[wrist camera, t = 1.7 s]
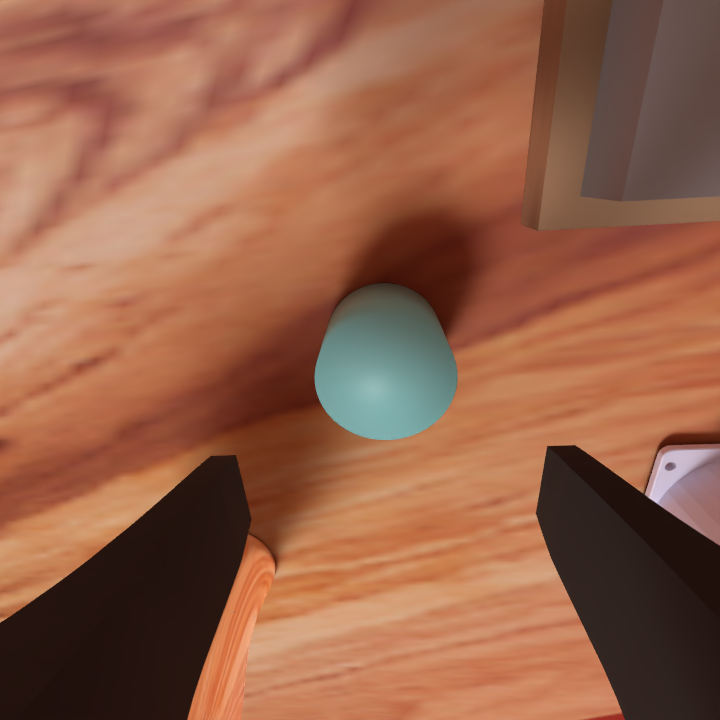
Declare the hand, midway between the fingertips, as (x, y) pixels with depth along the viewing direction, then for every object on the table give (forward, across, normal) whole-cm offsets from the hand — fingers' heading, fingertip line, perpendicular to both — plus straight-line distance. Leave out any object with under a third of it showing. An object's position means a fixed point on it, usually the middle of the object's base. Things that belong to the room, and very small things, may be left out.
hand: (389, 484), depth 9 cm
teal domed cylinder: (+9, 0, 0) cm, 9 cm away
